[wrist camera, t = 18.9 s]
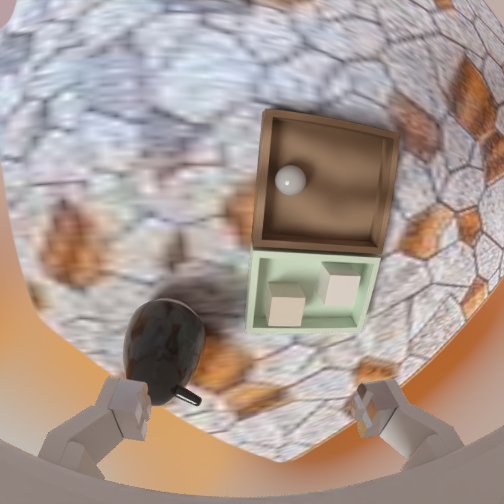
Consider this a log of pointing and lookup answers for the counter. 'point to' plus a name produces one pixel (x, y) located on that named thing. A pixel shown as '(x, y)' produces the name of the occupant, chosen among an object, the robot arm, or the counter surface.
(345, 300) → the small beige block
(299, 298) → the beige cube
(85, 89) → the counter surface
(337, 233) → the walnut crate
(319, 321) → the green tray
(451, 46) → the counter surface
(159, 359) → the black rounded cone
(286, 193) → the round pebble
